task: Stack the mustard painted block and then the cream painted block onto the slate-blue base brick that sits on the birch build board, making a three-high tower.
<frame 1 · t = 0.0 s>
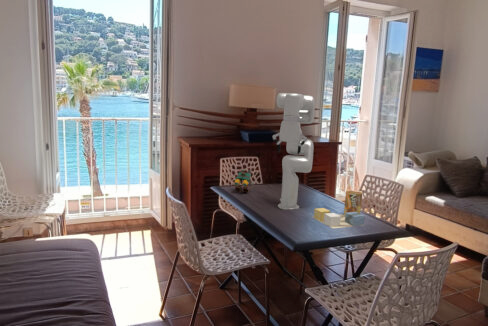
hand: (288, 153, 193), 37 cm above the table, tool pointing down, fingers open, 9 cm apart
build board: (337, 223, 206), on the table
candy box: (351, 217, 218), on the table
cream block: (331, 224, 200), point 1 cm above the table, touching build board
mustard block: (321, 218, 208), point 1 cm above the table, touching build board
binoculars: (242, 192, 262), on the table
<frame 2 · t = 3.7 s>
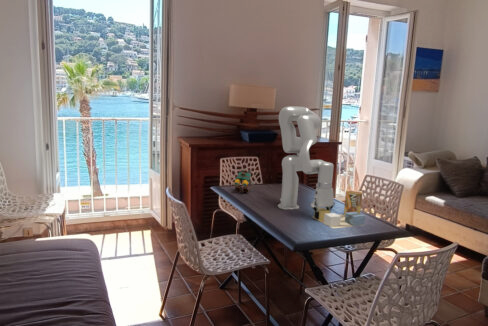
hand: (321, 217, 208), 2 cm above the table, tool pointing down, fingers closed on mustard block, 6 cm apart
mustard block: (321, 218, 208), point 1 cm above the table, touching build board, gripper
everything else where it was.
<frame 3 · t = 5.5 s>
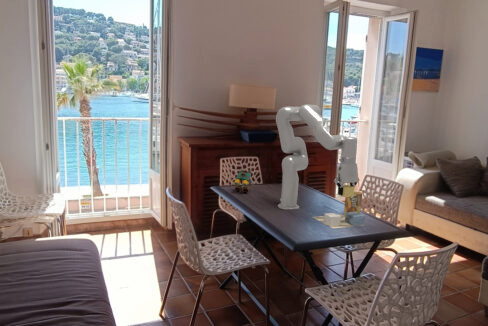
hand: (345, 194, 202), 16 cm above the table, tool pointing down, fingers closed on mustard block, 6 cm apart
mustard block: (345, 195, 203), point 16 cm above the table, touching gripper
everything else where it was.
when the fingers open (8 cm above the table, at t = 7.7 s): mustard block drops 1 cm, resting on build board.
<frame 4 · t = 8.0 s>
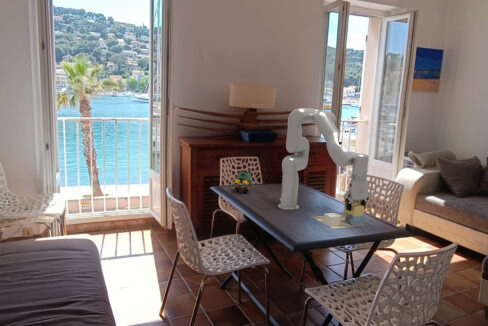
hand: (355, 209, 202), 9 cm above the table, tool pointing down, fingers open, 8 cm apart
mustard block: (355, 214, 203), point 6 cm above the table, touching build board
everything else where it was.
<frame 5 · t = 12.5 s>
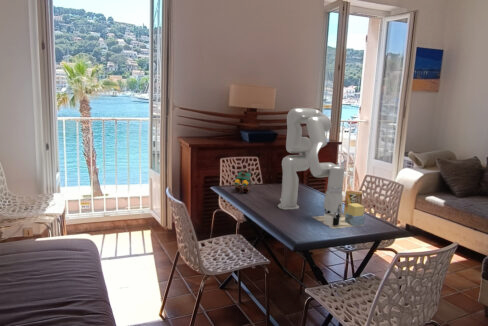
hand: (331, 222, 200), 2 cm above the table, tool pointing down, fingers closed on cream block, 6 cm apart
cream block: (331, 224, 200), point 1 cm above the table, touching build board, gripper
everything else where it was.
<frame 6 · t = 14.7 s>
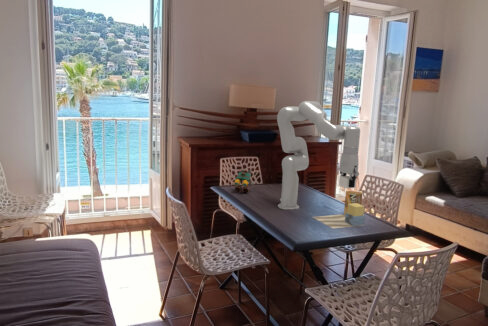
hand: (347, 185, 198), 22 cm above the table, tool pointing down, fingers closed on cream block, 6 cm apart
cream block: (347, 186, 199), point 21 cm above the table, touching gripper
everything else where it was.
when the fingers open (13 cm above the table, at t = 17.1 s): cream block drops 1 cm, resting on mustard block.
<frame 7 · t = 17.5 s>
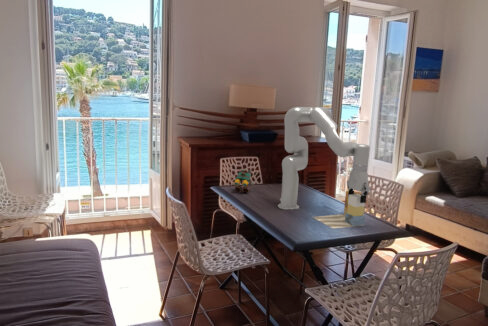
hand: (356, 200, 202), 14 cm above the table, tool pointing down, fingers open, 9 cm apart
cream block: (356, 205, 202), point 11 cm above the table, touching mustard block
mustard block: (355, 214, 203), point 6 cm above the table, touching build board, cream block
everything else where it was.
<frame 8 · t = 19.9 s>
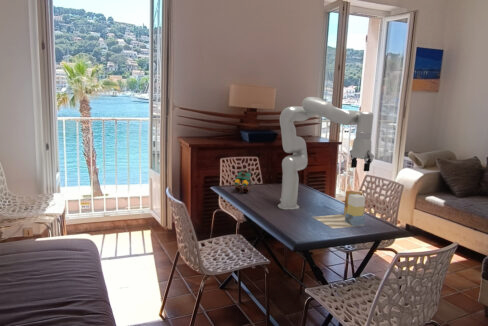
hand: (359, 169, 199), 30 cm above the table, tool pointing down, fingers open, 9 cm apart
nothing on the table moved.
at the end: mustard block 0.1 cm from the target spot, point 6.2 cm above the table; cream block 0.0 cm from the target spot, point 11.2 cm above the table; cream block tilted 0° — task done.
